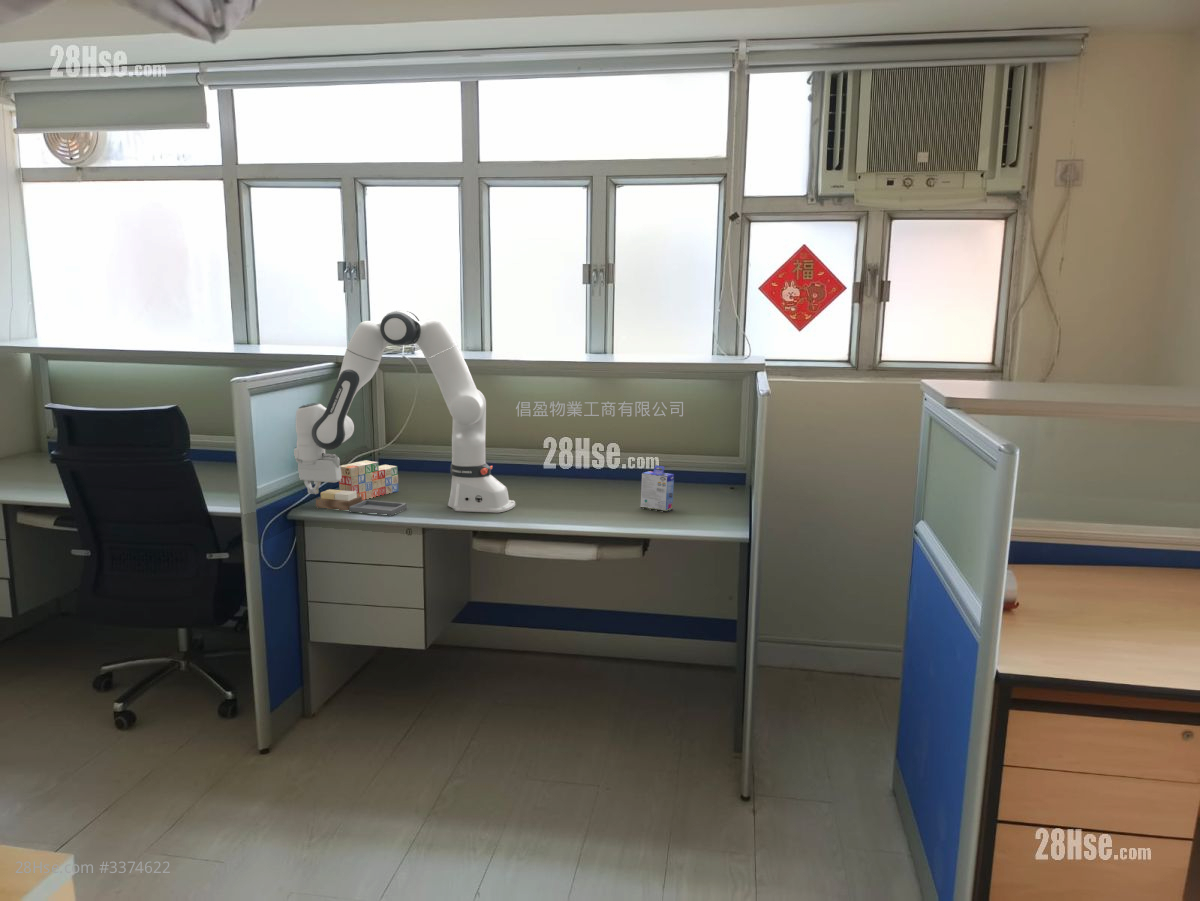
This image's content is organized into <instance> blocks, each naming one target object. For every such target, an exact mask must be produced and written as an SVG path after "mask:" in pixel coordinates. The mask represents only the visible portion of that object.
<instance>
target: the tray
mask: <svg viewBox="0 0 1200 901" xmlns="http://www.w3.org/2000/svg"><path fill="white" fill-rule="evenodd" d="M404 509H405V510H408V504H407V503H405V502H394V501H385V500H384V501H381V500H374V499H367V500H363V501H362V502H360V503H357V504H355V505H352V506H350V507H349V511H348V512H350V511H351V512H350V513H352V512H362V513H361V514H363V513H377V514H387V515H393V514H395V513H397V514H399V513H401V512H403V511H405V510H404ZM402 510H403V511H402ZM400 511H401V512H400ZM398 512H399V513H398ZM395 515H396V514H395ZM393 516H394V515H393Z"/></svg>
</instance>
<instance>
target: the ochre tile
mask: <svg viewBox="0 0 1200 901" xmlns="http://www.w3.org/2000/svg"><path fill="white" fill-rule="evenodd" d="M340 491H343V490H340V489H332V488H329V489H326V490H323V491H321V492H320V497H321V499H332V500H335V493H338V492H340Z"/></svg>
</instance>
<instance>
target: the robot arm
mask: <svg viewBox="0 0 1200 901" xmlns="http://www.w3.org/2000/svg"><path fill="white" fill-rule="evenodd" d="M414 344H415V345H416V346H418V347H419V349H420V350H421V351H422V354H423V357H424V358H425V360H426V362H427V364H428V366H429V368H430V370H431V372H432V374H433V376H434V378H435V381H436V383H437V384H438V387H439V389H440V392H441V395H442V397H443V401H444V402H445V404H446V407H447V409H448V411H449V413H450V416H451V417H452V430H451V431H452V432H451V463H450V480H451V486H450V494H449V499H448V502H447V506H448V507H449V508H451V509H453V510H454V511H455V512H473V513H474V512H475V513H504V512H506V511H510V510H511V509H514V507H515V506H516V501H515V500H511V499H510V497H509V491H508V487H507V486H506V485H504V484H503V483H502V482H501V481H499V480H498V479H497V478H496V477H495V476H493V475H492V472H491V471H492V469H493V465H489V464H488V463H487V462H486V461H487V460H486V431H487V430H486V429H487V427H486V426H487V424H486V423H487V400H486V397H485V395H484V394H483V393H482V391H481V390H479V389H477V386H476V384H475V382H474V379H473V377H472V374H471V372H470V369H469V367H468V364H467V362H466V361H465V359H464V356H463V354H462V352H461V350H460V349H459V346H458V344H457V342H456V340H455V338H454V336H453V335H452V333H451V332H450V330H449V329H448V328H447V326H446V324H445V323H444V322H443V321H442V320H441V319H437V318H430V319H429V318H428V319H426V320H423V321H420V319H419V318H418V316H416V315H415V314H414V313H413V312H411V311H408V310H407V311H406V310H401V309H400V310H394V311H391V312H388V313H387V314H385V315H384V316H383V318H382V320H381V322H377V321H373V320H364V321H363V320H362V321H361V322H360V323H359V324H358V325H357V326H356V328H355V330H354V332H353V334H352V336H351V337H350V340H349V342H348V344H347V347H346V350H345V353H344V356H343V360H342V363H341V368H340V371H339V374H338V377H337V380H336V384H335V387H334V389H333V391H332V393H331V396H330V399H329V402H328V404H327V406H326V407H325V406H324V405H323V404H321V403H319V402H313V403H307V404H305V405H304V404H303V405H301V406H299V407H298V408H297V410H296V412H295V432H296V436H297V437H296V438H297V439H296V447H297V448H296V447H294V448H295V449H294V456H295V459H296V462H297V463H298V473H299V478H300V480H299V481H303V483H304V485H305V487H306V489H307V494H310V495H317V494H319V492H320V491H319V488H320V487H321V485H322V483H335V484H336V483H337V482H338V483H339V481H340V480H341V478H342V474H341V468H340V466H341V462H340V461H341V460H340V458H339V457H338V455H336V454H335V453H326V450H327V451H328V450H335V449H337V448H339V447H340V446H341V445H342V444H343V443H344V442H346V441H348V440H349V439H351V437H352V436H353V435H354V432H355V423H354V421H353V419H352V418H351V417H350V416H349V415H348V412H349V410H350V407H351V404H352V402H353V400H354V398H355V396H356V395H357V393H358V392H359V391H360V389H361V388H362V387H364V386H365V385H366V384H367V383H368V382H370V381H371V380H372V378H373V377H374V375H375V374H376V372H377V370H378V368H379V366H380V363H381V360H382V357H383V355H384V352H385V349H386V348H387V347H388V346H389V345H392V346H397V347H399V346H406V345H414ZM312 482H313V484H314V487H313V485H312Z"/></svg>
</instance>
